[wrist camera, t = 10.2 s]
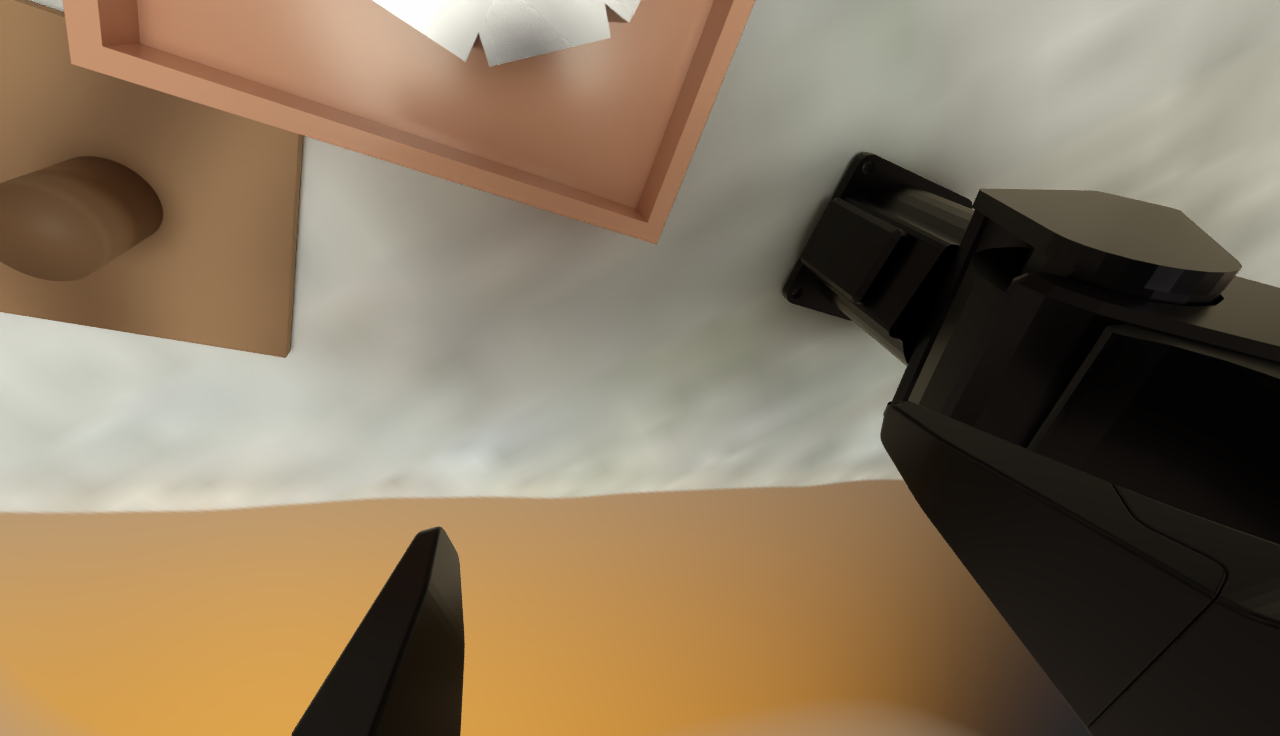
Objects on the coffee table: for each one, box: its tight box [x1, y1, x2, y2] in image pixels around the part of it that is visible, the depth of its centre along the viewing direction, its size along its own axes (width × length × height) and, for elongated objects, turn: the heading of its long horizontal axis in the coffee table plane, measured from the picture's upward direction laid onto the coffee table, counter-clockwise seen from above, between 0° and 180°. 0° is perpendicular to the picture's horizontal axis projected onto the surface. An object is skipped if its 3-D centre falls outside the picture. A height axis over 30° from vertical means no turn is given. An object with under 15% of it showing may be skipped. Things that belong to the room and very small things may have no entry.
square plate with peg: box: [0, 0, 303, 358], centre depth 14 cm, size 9×9×4 cm
